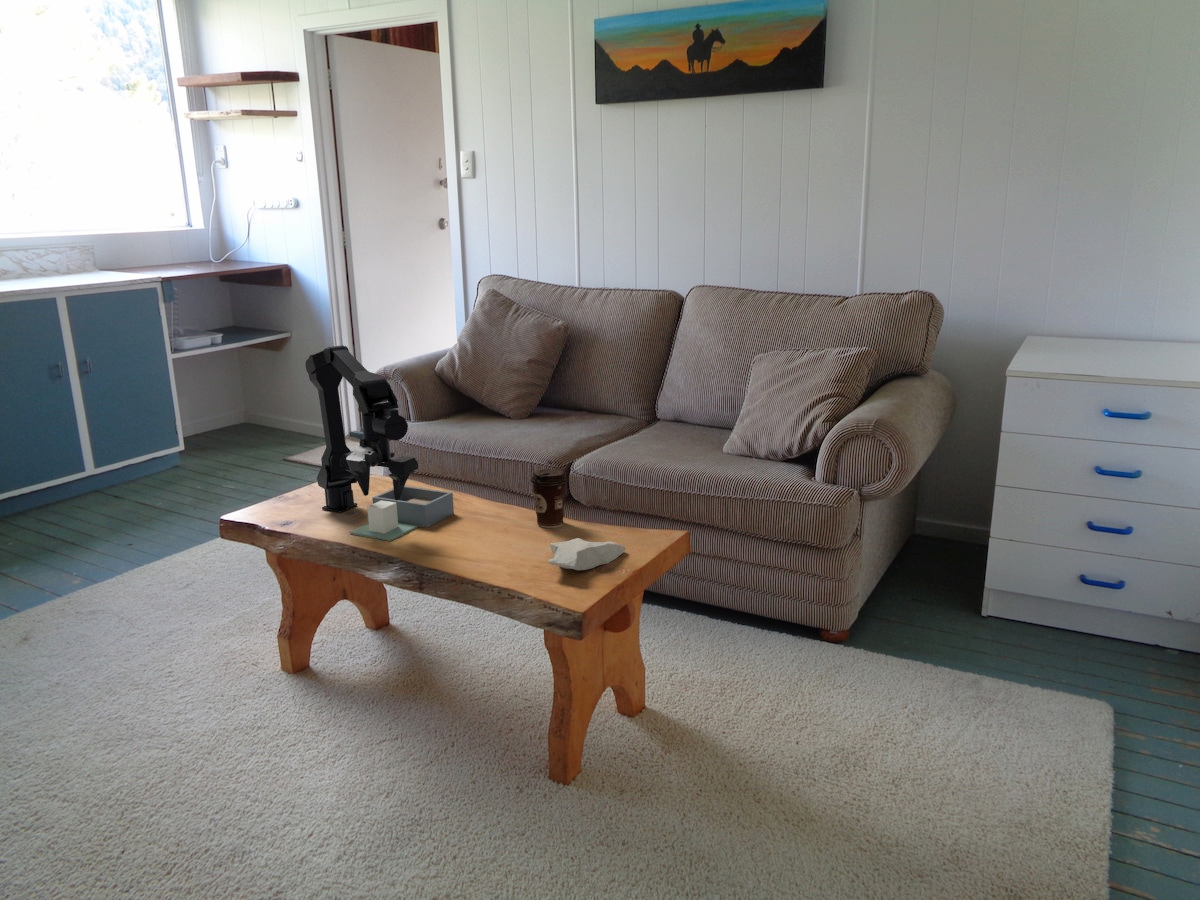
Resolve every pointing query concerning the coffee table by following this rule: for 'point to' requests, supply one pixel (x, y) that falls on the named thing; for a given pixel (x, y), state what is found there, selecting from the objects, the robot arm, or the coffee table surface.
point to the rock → (584, 553)
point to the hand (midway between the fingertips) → (381, 497)
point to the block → (382, 516)
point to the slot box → (420, 505)
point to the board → (387, 536)
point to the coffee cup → (549, 497)
